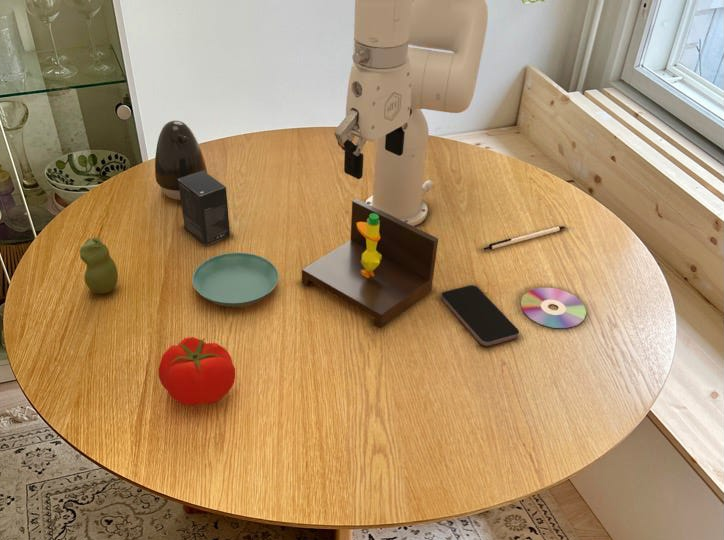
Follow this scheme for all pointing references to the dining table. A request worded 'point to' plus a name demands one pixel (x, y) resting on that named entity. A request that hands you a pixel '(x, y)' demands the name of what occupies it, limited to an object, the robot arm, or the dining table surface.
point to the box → (204, 207)
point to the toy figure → (370, 244)
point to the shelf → (378, 267)
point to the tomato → (196, 372)
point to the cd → (564, 317)
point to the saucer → (235, 279)
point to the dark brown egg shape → (176, 157)
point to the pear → (98, 266)
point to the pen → (523, 238)
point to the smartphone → (479, 315)
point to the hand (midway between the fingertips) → (373, 163)
